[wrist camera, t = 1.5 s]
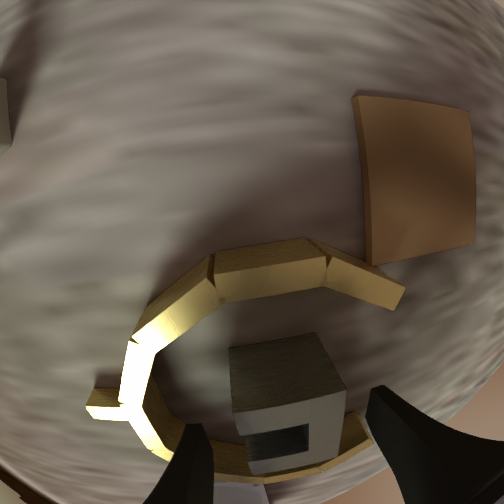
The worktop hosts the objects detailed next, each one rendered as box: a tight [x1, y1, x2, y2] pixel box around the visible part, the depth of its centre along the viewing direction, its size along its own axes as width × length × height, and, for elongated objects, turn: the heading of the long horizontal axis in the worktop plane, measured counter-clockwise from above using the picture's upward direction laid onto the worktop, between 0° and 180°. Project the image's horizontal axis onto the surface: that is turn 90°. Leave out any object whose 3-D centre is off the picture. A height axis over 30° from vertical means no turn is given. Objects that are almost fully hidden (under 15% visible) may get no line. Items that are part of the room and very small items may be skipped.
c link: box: [229, 333, 347, 475], centre depth 11 cm, size 5×4×4 cm
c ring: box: [85, 238, 406, 484], centre depth 12 cm, size 14×15×2 cm
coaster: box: [352, 96, 476, 266], centre depth 11 cm, size 7×7×1 cm
